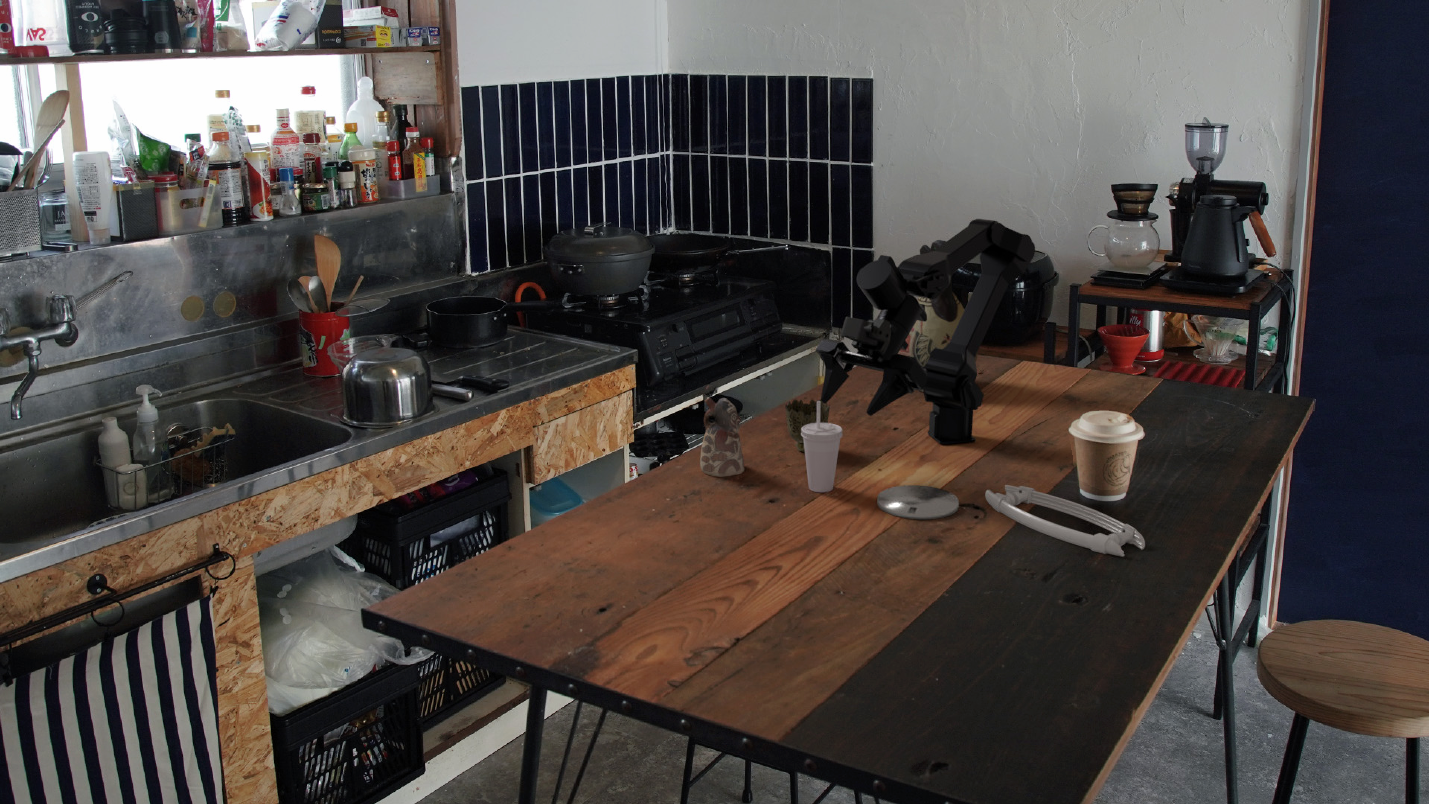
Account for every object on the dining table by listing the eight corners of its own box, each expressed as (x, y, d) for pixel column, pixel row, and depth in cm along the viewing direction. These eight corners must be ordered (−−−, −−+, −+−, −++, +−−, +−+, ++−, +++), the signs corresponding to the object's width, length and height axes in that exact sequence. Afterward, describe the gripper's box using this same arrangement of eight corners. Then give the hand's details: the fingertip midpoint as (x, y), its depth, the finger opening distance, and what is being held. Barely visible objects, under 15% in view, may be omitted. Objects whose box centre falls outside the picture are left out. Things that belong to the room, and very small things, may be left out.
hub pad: (885, 486, 192) (885, 481, 192) (963, 494, 188) (964, 490, 188) (869, 514, 181) (869, 509, 181) (952, 523, 178) (952, 518, 177)
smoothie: (797, 481, 195) (798, 396, 191) (837, 480, 195) (839, 394, 191) (803, 496, 188) (804, 408, 184) (845, 494, 189) (847, 406, 185)
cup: (829, 443, 212) (830, 398, 210) (828, 457, 205) (829, 411, 203) (785, 442, 213) (786, 397, 211) (783, 456, 206) (784, 410, 204)
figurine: (735, 479, 196) (735, 406, 193) (693, 474, 198) (692, 402, 195) (750, 464, 202) (750, 394, 199) (709, 459, 205) (708, 390, 201)
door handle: (1018, 494, 190) (1156, 547, 170) (972, 508, 184) (1108, 564, 165) (1019, 478, 189) (1157, 528, 169) (972, 491, 184) (1110, 545, 164)
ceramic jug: (887, 379, 251) (892, 232, 242) (962, 376, 252) (969, 230, 244) (909, 403, 235) (915, 246, 226) (988, 400, 236) (997, 244, 227)
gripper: (824, 288, 197) (776, 368, 193) (919, 306, 184) (870, 391, 180) (854, 329, 205) (809, 406, 200) (948, 348, 192) (901, 431, 188)
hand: (845, 408), depth 192 cm, fingers open, 9 cm apart
